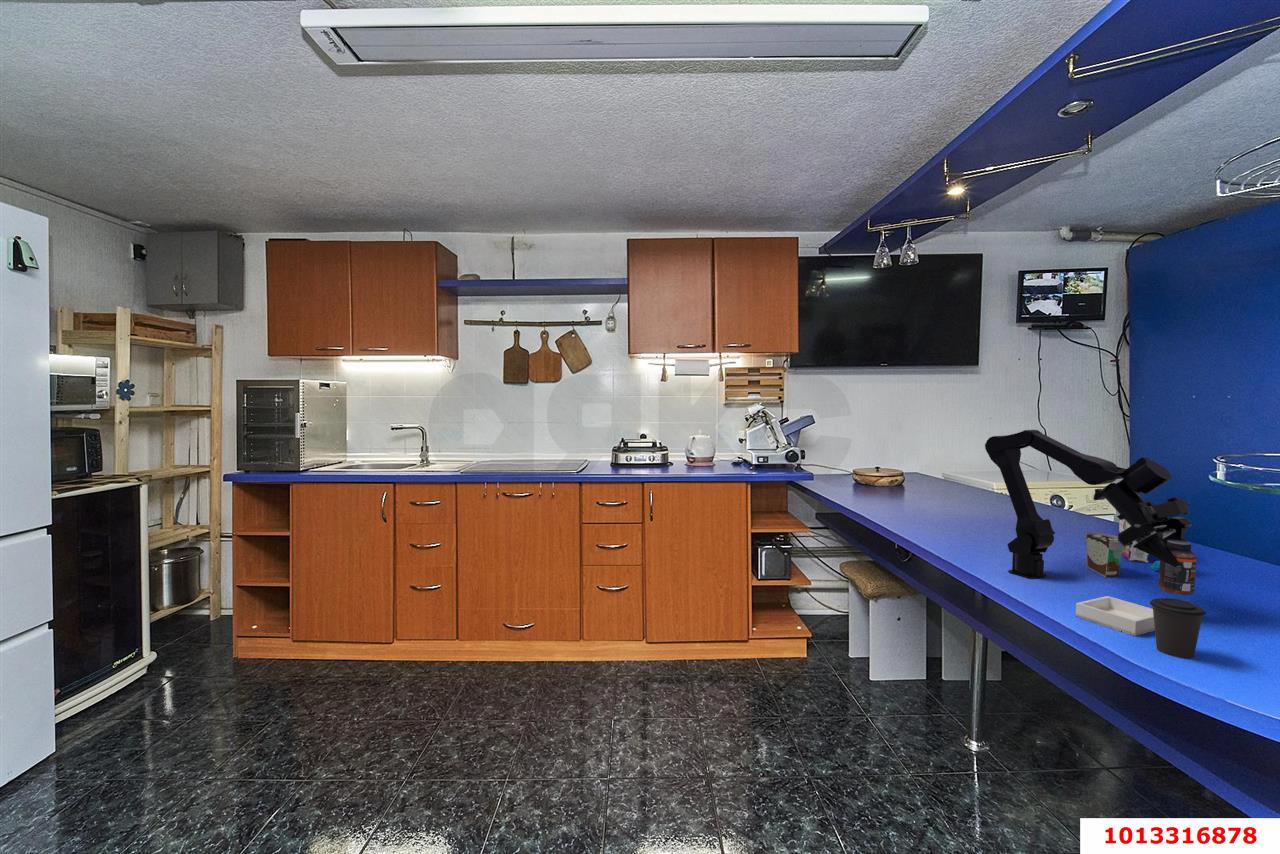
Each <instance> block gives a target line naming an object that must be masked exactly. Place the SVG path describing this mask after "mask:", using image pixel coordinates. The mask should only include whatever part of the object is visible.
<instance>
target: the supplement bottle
mask: <svg viewBox="0 0 1280 854" xmlns="http://www.w3.org/2000/svg"><path fill="white" fill-rule="evenodd" d="M1166 546H1167V547H1168V549H1169V550H1170V551H1171V553H1172V554H1173V555H1174V557H1175V558H1176V559H1177V561H1178V562H1179V564H1180V565H1179V566H1177V567H1174V566H1172V565H1170V564H1168V563H1166V562H1164V561H1162V560H1160V559H1159V561H1160V566H1159V570H1158V583H1157V584H1158V589H1160V590H1162V591H1163V592H1166V593H1168V594H1174V595H1180V596H1192V595H1194V593H1195V587H1196V574H1197V573H1196V570H1197V556H1196V554H1195V553H1193V551H1192V543H1191V542H1189V541H1187V540H1186V541H1180V540H1167V545H1166Z"/></svg>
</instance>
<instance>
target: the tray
mask: <svg viewBox="0 0 1280 854" xmlns="http://www.w3.org/2000/svg"><path fill="white" fill-rule="evenodd" d="M1076 616H1077V617H1076ZM1075 617H1076V618H1078V617H1079V618H1078V619H1081V618H1082V619H1081V620H1084V621H1088V622H1090V623H1094V624H1097V625H1100V626H1102V627H1106V628H1109V629H1111V628H1112V629H1113V630H1114V631H1115V630H1116V631H1118V632H1121V631H1122V633H1123V634H1127V635H1130V634H1131V635H1130V636H1133V635H1134V636H1133V637H1137V635H1138V636H1141V634H1142V635H1144V634H1149V633H1153V632H1155V626H1154V616H1153V608H1151V607H1149V606H1143V605H1141V604H1137V603H1134V602H1130V601H1126V600H1123V599H1120V598H1116V597H1112V596H1108V595H1105V596H1101V597H1097V598H1092V599H1088V600H1085V601H1084V600H1083V601H1080V602H1076V604H1075ZM1148 632H1149V633H1148Z"/></svg>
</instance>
